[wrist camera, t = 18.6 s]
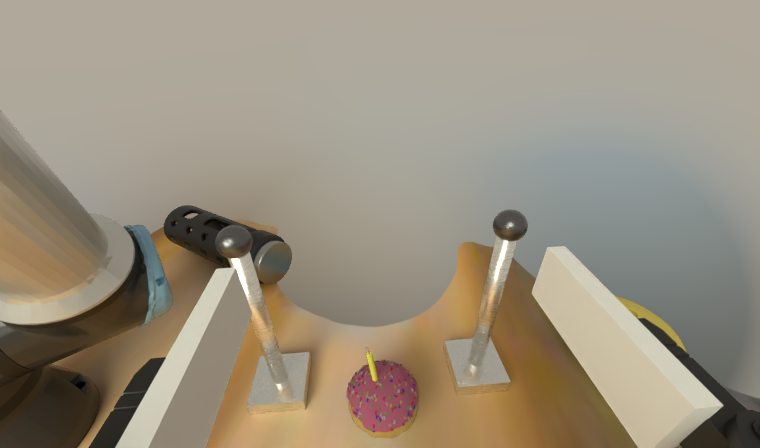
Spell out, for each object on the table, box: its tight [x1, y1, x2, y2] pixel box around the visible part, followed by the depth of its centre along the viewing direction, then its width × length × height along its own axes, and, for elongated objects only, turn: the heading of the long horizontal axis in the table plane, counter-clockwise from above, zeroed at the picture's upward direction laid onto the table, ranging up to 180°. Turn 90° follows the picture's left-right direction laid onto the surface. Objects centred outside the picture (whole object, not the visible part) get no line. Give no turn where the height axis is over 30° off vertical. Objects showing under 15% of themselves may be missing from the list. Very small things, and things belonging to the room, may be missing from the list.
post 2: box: [443, 210, 528, 395], centre depth 37 cm, size 7×7×26 cm
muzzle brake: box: [164, 205, 292, 284], centre depth 62 cm, size 10×28×10 cm, turn 61°
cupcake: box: [347, 347, 419, 438], centre depth 35 cm, size 9×8×12 cm
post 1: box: [215, 225, 311, 415], centre depth 35 cm, size 7×7×26 cm
